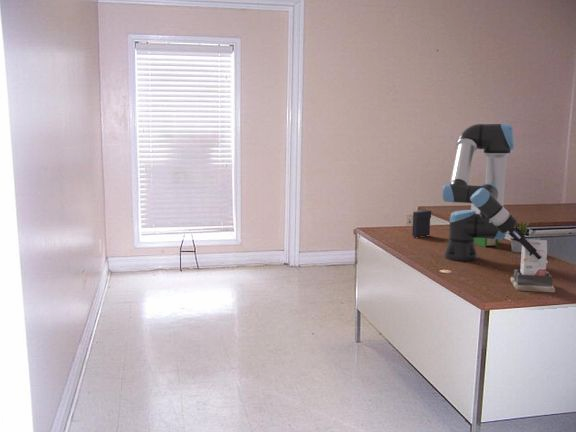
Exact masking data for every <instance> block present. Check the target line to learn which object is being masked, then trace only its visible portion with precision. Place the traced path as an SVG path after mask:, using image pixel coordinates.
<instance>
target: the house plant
mask: <svg viewBox="0 0 576 432" xmlns="http://www.w3.org/2000/svg"><path fill="white" fill-rule="evenodd" d="M521 223H522V222H521V221H519V223H516V224H515V225H514V228H516V227H517V228H518V229H519V230H520V232H521V233H522V234H523V235H524V236H526V235H529V233H527V232H528V231H526V230H527V229H528V228H529V227H530V225H531V224H530V221H528V222H527V221H526V222H523V223H522V224H521ZM506 235H508V232H506ZM510 245H511V246H510V247H511V252H513V253H522V244H521V243H520V242H517V241H516V240H515V239H514V238H513V237H511V238H510Z"/></svg>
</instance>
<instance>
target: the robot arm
mask: <svg viewBox="0 0 576 432" xmlns="http://www.w3.org/2000/svg"><path fill="white" fill-rule="evenodd" d="M514 142H515V139H514V130H513V126H512V125H511V124H509V123H507V124H506V123H477V124H473V125H470V126H469V127H467V128H465V129H464V130H463V131H462V132H461V133H460V134H459V136H458V138H457V139H456V141H455V146H454V147H455V150H456V152H455V153H456V154H455V155H454V161H453V166H452V171H451V174H450V175H451V176H450V181H449V183H448V184H444V185H443V186H442V200H443V201H444V202H446V203H447V202H448V203H461V204H464V203H465V204H471V203H473V204H474V206H475V207H477V208H478V209H479V210H480V214H476V212H475V210H471V209H464V210H463V209H461V210H455V211H453V212H451V214H450V216H449V233H448V243H447V246H446V248H445V251H444V258H446V259H448V260H453V261H457V262H471V261H475V260H477V258H478V253H477V249H476V247H475V246H476V245H475V242H474V238H486V239H494V240H495V239H498V240H504V239H505V237H506V235H507V234H506V233H508V234H509V236H510V237H511V238H514V239H515V240H516V241H517V242H520V243H521V244H522V245H523V246H524V247H525V248H526V249H527V250H528V251H529V252H530V254H529V255H530V256H531V255H532V256H533V257H534V258H535V259H536V260H537V261H538V262H539V263H540V264H541V265H542V266H544V265H545V264H546V265H547V264H548V263H549V261H548V259H547V260H546V259H545V258H544V257H543V256H542V255H541V254H540V253H539V252H538V251H537V250H536V249H535V248H534V247H533V246H532V245H531V244H530V243H529V242H528V241H527V240H528V239H526V238H525V235H523V234H522V233H521V232H520V230H519V229H518V226H517V227H515V224H516V223H517V219H516V218H515V217H514V216H513V215H512V214H510V212H509V211H508V210H507V209H506V208H505V207H504V201H505V199H504V198H505V184H506V170H507V169H506V167H507V158H508V157H509V155H510V154H511V151H513V150H514V149H515V143H514ZM477 150H483V154H484V155H485V156H486V165H485V183H484V184H483V185H469V180H470V175H471V170H472V164H473V158H474V153H476V152H477ZM517 224H518V223H517Z"/></svg>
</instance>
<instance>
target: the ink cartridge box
mask: <svg viewBox="0 0 576 432" xmlns="http://www.w3.org/2000/svg"><path fill="white" fill-rule="evenodd" d="M526 240H527V241H528V242H529V243H530V244H531V245H532V246H533V247H534V248H535V249H536V250H537V251H538V252H539V253H540V254H541V255H542V256H543V257H544V258H545V259H546V260H547V261H548V259H547V257H548V240H546V239H526ZM535 243H536V244H535ZM529 254H530V252H529V251H528V250H527V249H526V248H525V247H524V246H523V245H522V252H521V255H520V269H519V270H520V273H521V274H523V275H537V276H545V275H546V271H547V264H545V265H544V266H542V265H541V264H540V263H539V262H538V261H537V260H536V259H535V258H534V257H533V256H532V255H531V256H530V255H529Z"/></svg>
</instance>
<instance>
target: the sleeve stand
mask: <svg viewBox="0 0 576 432" xmlns="http://www.w3.org/2000/svg"><path fill="white" fill-rule="evenodd" d="M510 282H511V283H512V285H513V287H514V288H515V290H516V291H525V292H527V291H528V292H540V293H541V292H542V293H555V292H556V287H554V286H553V276H552V275H551V274H550V272H549V271H547V270H546V275H545V276H537V275H523V274H521V273H520V269H517V268H515V269H514V270H513V276H510Z"/></svg>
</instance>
